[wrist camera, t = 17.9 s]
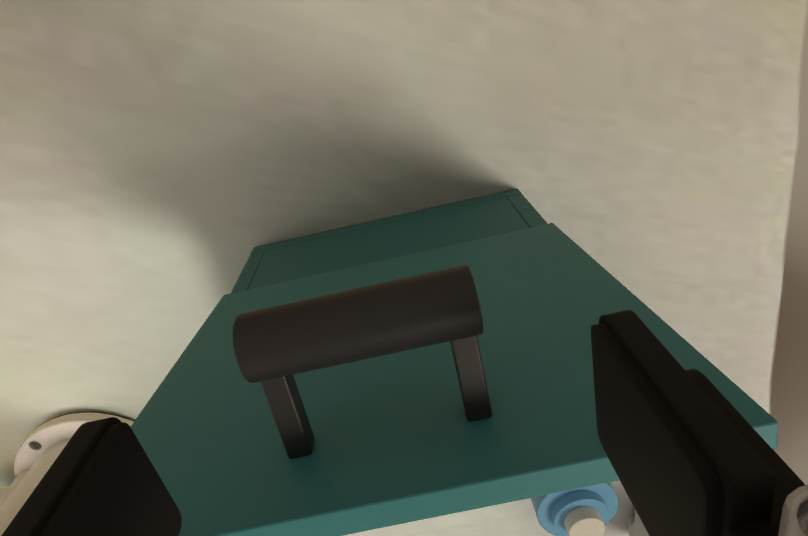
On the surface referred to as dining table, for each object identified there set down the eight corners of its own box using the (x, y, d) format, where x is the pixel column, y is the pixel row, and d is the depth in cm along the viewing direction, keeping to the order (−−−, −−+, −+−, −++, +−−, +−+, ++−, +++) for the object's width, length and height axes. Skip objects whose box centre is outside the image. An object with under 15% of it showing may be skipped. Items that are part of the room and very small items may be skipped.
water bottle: (519, 477, 46) (548, 566, 38) (511, 425, 43) (540, 510, 36) (587, 463, 45) (630, 550, 38) (583, 410, 43) (628, 493, 35)
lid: (778, 449, 12) (788, 245, 10) (39, 597, 13) (-72, 429, 11) (554, 236, 28) (542, 140, 26) (228, 308, 29) (195, 219, 27)
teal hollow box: (541, 379, 41) (572, 445, 35) (319, 426, 42) (311, 498, 36) (517, 188, 34) (550, 226, 28) (253, 247, 35) (227, 297, 29)
